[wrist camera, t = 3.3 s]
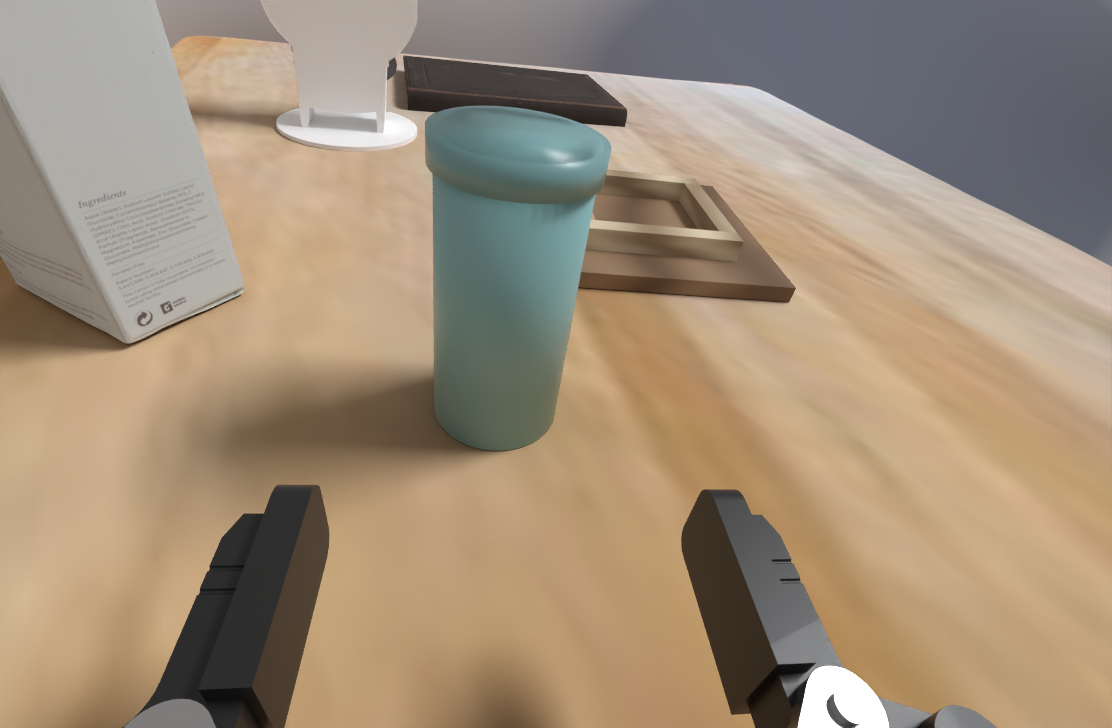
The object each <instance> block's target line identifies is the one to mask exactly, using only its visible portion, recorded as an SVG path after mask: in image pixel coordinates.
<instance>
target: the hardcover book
mask: <svg viewBox="0 0 1112 728" xmlns="http://www.w3.org/2000/svg"><path fill="white" fill-rule="evenodd" d="M403 60H404V69H405V77H406V86H407V93H408V110H414V111H427V112H439V111H442V110H446V109H450V108H456V107H464V106H503V107H513V108H521V109H528V110H534V111H540V112H544V113H549V114H553V115H557V116H561V117H564V118H567V119H570V120H573V121H576V122H579V123H582V124H595V125H608V126H621V127H625V123H626V118H627V109H626V108H625V107H624V106H623V105H622V104H621V103H619V102H618V101H617V100H616V99H615V98H614V97H612V96H611V95H610V94H609V93H608V92H607V91H605V90H604V89H603V88H602V87H601V86H600V85H599V84H597V83H596V82H595V81H594V80H593V79H592V78H590V77H589V76H588V75H585V74H576V73H566V72H557V71H547V70H537V69H528V68H518V67H509V66H499V65H489V64H480V63H470V62H461V61H451V60H441V59H432V58H422V57H412V56H403Z"/></svg>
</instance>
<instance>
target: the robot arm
mask: <svg viewBox="0 0 1112 728" xmlns="http://www.w3.org/2000/svg"><path fill="white" fill-rule="evenodd" d="M681 543H682V552H683V556H684V560H685V563H686V566H687V570H688V573H689V576H690V580H691V583H692V586H693V589H694V593H695V596H696V599H697V603H698V606H699V609H700V612H701V616H702V619H703V622H704V626H705V629H706V632H707V635H708V639H709V642H710V645H711V649H712V652H713V655H714V658H715V662H716V665H717V668H718V672H719V675H720V678H721V681H722V685H723V688H724V691H725V694H726V698H727V701H728V704H729V708H730V711H731V714H732V715H734V714H750V713H751V716H752V719H753V722H754V725H755V728H996V727H995V726H994V725H993V724H992V723H991V722H990V721H988V720H987V719H986V718H984V717H983V716H982V715H980V714H978V713H977V712H975V711H973V710H970V709H968V708H965V707H962V706H956V705H952V706H947V707H944V708H942V709H941V710H939V711H938V712H936V713H934V714H930V713H926V712H923V711H920V710H917V709H914V708H911V707H908V706H904V705H901V704H898V703H895V702H892V701H889V700H886V699H883V698H881V697H879V696H877V695H875V694H874V693H873V691H872V690H871V689H870V688H869V687H868V686H867V685H866V684H865V683H864V682H863V681H862V680H861V679H860V678H858V677H857V676H855V675H854V674H853V673H851V672H849V671H847V670H846V669H845V668H844V666H843V665H842V663H841V662H840V660H839V659H838V657H837V655H836V653H835V651H834V649H833V647H832V644H831V642H830V640H829V638H828V636H827V634H826V632H825V630H824V627H823V625H822V623H821V621H820V619H819V617H818V615H817V613H816V610H815V608H814V606H813V604H812V602H811V600H810V598H809V596H808V593H807V591H806V589H805V587H804V585H803V583H801V582H800V576H799V574H798V572H797V570H796V568H795V566H794V564H792V563H791V557H790V555H789V553H788V551H787V549H786V547H785V545H784V543H783V540H782V538H781V536H780V535H779V534H778V533H777V531H776V530H775V529H774V528H773V527H772V526H771V525H770V524H769V522H768V521H767V520H766V519H765V518H764V517H763V516H762V515H752V514H751V512H750V510H749V508H748V505H747V503H746V501H745V499H744V497H743V495H742V494H741V493H740V492H739V491H738V490H702V491H701V493H700V494H699V496H698V498H697V501H696V503H695V505H694V507H693V509H692V511H691V513H690V515H689V517H688V519H687V521H686V523H685V525H684V528H683V531H682V538H681ZM328 548H329V527H328V522H327V517H326V513H325V508H324V504H323V499H322V494H321V490H320V487H319V486H318V485H277V486H276V487H275V488H274V490H273V492H272V494H271V496H270V499H269V502H268V504H267V507H266V510H265V512H264V514H243V515H242V516H241V517H240V518H239V520H238V521H237V522H236V523H235V524H234V525H233V526H232V527H231V528H230V529H229V530H228V532H227V533H226V534H225V535H224V536H223V537H222V538H221V541H220V543H219V545H218V548H217V550H216V552H215V555H214V557H213V559H212V562H211V564H210V570H209V571H207V573H206V576H205V578H204V580H203V583H202V585H201V587H200V593H199V595H197V597H196V599H195V601H194V604H193V606H192V608H191V611H190V613H189V615H188V618H187V620H186V622H185V625H184V627H183V629H182V632H181V634H180V636H179V639H178V641H177V643H176V646H175V648H174V650H173V653H172V655H171V657H170V660H169V662H168V664H167V667H166V669H165V671H164V674H163V676H162V678H161V681H160V683H159V685H158V687H157V689H156V691H155V692H154V694H153V695H152V697H151V699H150V700H149V701H148V703H147V704H146V705H145V706H144V708H143V709H142V710H141V711H140V712H139V713H138V714H137V715H136V716H135V717H134V718H133V719H132V720H131V721H130V722H129V723H127V724H126V725H125V726H124V727H123V728H284V727H285V723H286V719H287V715H288V711H289V707H290V703H291V699H292V695H293V691H294V687H295V683H296V679H297V675H298V671H299V667H300V663H301V659H302V655H303V651H304V647H305V643H306V639H307V635H308V631H309V627H310V623H311V619H312V615H313V611H314V607H315V603H316V599H317V595H318V591H319V587H320V583H321V579H322V575H323V572H324V568H325V564H326V559H327V554H328Z"/></svg>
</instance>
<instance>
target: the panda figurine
mask: <svg viewBox="0 0 1112 728" xmlns="http://www.w3.org/2000/svg"><path fill="white" fill-rule="evenodd" d="M260 1H261V4H262V6H263V9H264V11H265V13H266V15H267V16H268V18H269V20H270V21H271V23H272V24H273V26H274V27H275V29H276V30H277V31H278V32H279V33H280V34H281V35H282V36H283V37H284V38H285V39H286V40H287V41H288V42H289V43H290V44H291V48H292V52H293V58H294V65H295V71H296V78H297V85H298V94H299V105H300V108H297V109H294V110H290V111H287V112H285V113H283V114H281V115H280V116H279V117H278V118H277V120H276V126H277V130H278V131H279V132H280V133H281V134H282V135H283V136H285V137H286V138H288V139H290V140H293V141H295V142H298V143H301V144H304V145H308V146H312V147H317V148H323V149H330V150H339V151H378V150H386V149H392V148H397V147H400V146H403V145H406V144H408V143H410V142H412V141H413V140H414V139H415V138H416V137H417V127H416V125H415V124H414V123H413V122H412V121H410V120H409V119H407V118H405V117H403V116H400V115H398V114H395V113H392V112H388V111H386V89H387V80H388V79H390V78H391V77H392V76H393V75H394V74H395V72H396V68H397V63H396V59H395V56H397V55H398V54H399V53H400V52H401V51H402V50H403V48H404V47H405V46H406V45H407V43H408V42H409V40H410V38H411V36H412V34H413V32H414V30H415V27H416V24H417V15H418V10H417V0H260ZM387 62H389V67H388V68H387Z"/></svg>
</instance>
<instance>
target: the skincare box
mask: <svg viewBox="0 0 1112 728" xmlns="http://www.w3.org/2000/svg"><path fill="white" fill-rule="evenodd" d="M0 256H1V258H2V260H3V261H4V263H5V265H6V266H7V268H8V270H9V271H10V273H11V275H12V276H13V278H14V280H15V282H16V284H17V285H19V286H21V287H23V288H24V289H26V290H28V291H30V292H32V293H34V294H35V295H37V296H39V297H41V298H43V299H44V300H46V301H48V302H50V303H52V304H53V305H55V306H57V307H59V308H61V309H63V310H65V311H66V312H68V313H70V314H72V315H74V316H75V317H77V318H79V319H81V320H83V321H84V322H86V323H88V324H90V325H92V326H94V327H96V328H98V329H100V330H102V331H104V332H106V333H108V334H110V335H112V336H113V337H115V338H117V339H118V340H120V341H122V342H123V343H126V344H128V343H133V342H136V341H138V340H141V339H143V338H145V337H147V336H149V335H151V334H153V333H155V332H157V331H158V330H160V329H162V328H164V327H167V326H169V325H171V324H173V323H175V322H178V321H180V320H182V319H185V318H187V317H190V316H193V315H195V314H197V313H200V312H202V311H205V310H207V309H210V308H212V307H214V306H216V305H219V304H221V303H223V302H225V301H227V300H229V299H232V298H234V297H236V296H238V295H240V294H242V293H243V292H244V281H243V277H242V274H241V271H240V268H239V265H238V262H237V259H236V255H235V252H234V249H233V246H232V243H231V239H230V236H229V233H228V230H227V227H226V224H225V221H224V217H223V214H222V211H221V208H220V205H219V202H218V198H217V195H216V192H215V189H214V185H213V182H212V179H211V176H210V172H209V169H208V166H207V163H206V160H205V156H204V153H203V150H202V147H201V144H200V141H199V138H198V134H197V131H196V128H195V125H194V122H193V119H192V116H191V112H190V109H189V106H188V103H187V100H186V97H185V93H184V90H183V87H182V84H181V81H180V78H179V75H178V71H177V68H176V65H175V62H174V59H173V56H172V52H171V49H170V46H169V43H168V40H167V37H166V34H165V31H164V28H163V24H162V22H161V18H160V15H159V12H158V9H157V6H156V2H155V0H0Z"/></svg>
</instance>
